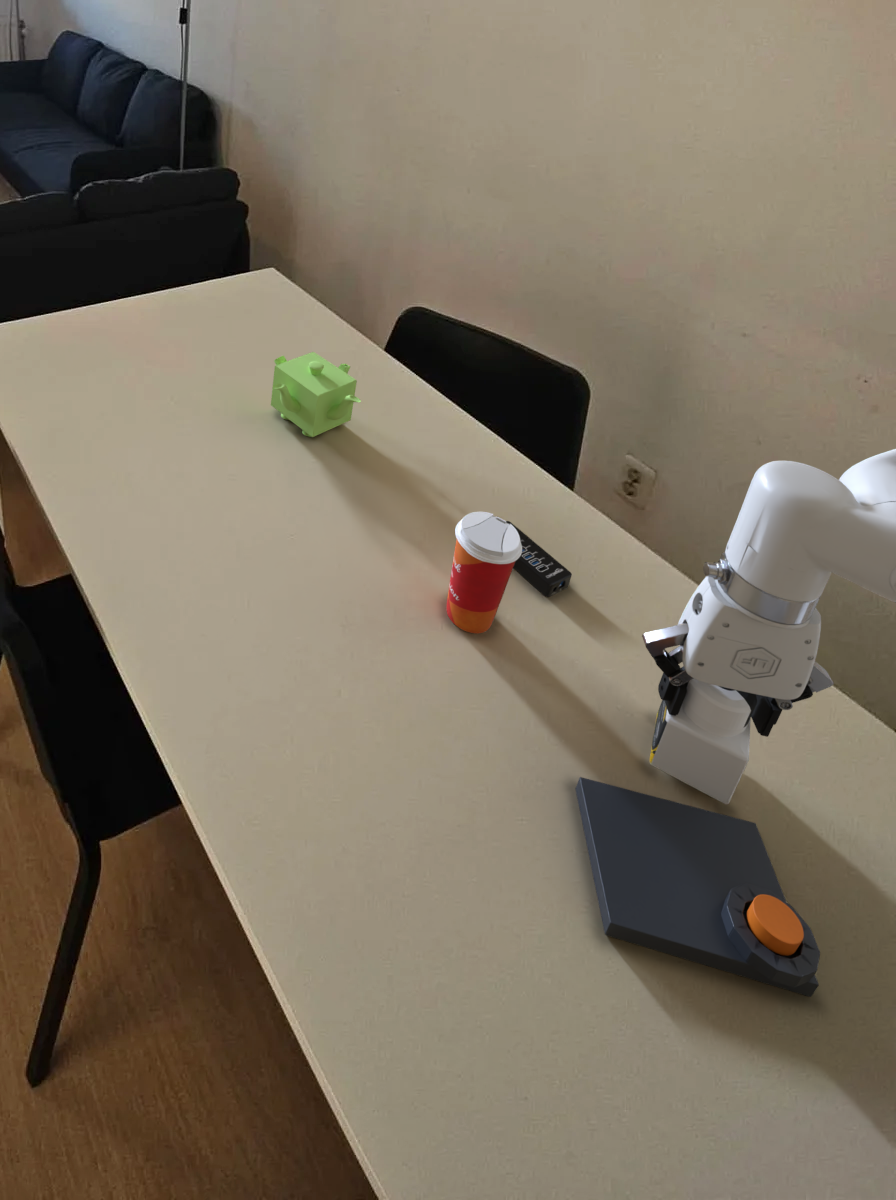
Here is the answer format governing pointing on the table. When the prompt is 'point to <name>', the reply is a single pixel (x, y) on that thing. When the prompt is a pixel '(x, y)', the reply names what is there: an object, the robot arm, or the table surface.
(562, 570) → the multiport hub
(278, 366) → the kettle
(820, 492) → the robot arm
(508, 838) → the table surface
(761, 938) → the button
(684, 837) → the scale
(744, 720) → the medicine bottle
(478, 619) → the paper cup
